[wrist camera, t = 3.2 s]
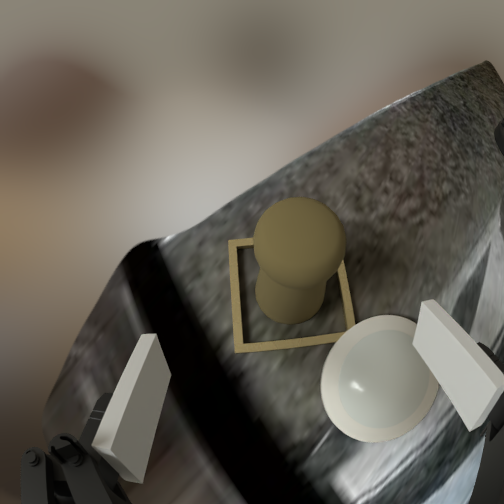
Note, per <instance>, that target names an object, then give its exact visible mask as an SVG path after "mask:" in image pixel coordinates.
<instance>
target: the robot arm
mask: <svg viewBox="0 0 504 504" xmlns="http://www.w3.org/2000/svg"><path fill="white" fill-rule="evenodd" d="M494 134H495V139H496V142H497V144H498V146H499V148H500V150H501V152H502V153H503V155H504V119H503V120H501V121H500V122H499V124H498V126H497V127H496V129H495V132H494ZM412 344H413V346H414V347H415V349H416V350H417V351H418V353H419V354H420V356H421V357H422V359H423V360H424V361H425V363H426V364H427V366H428V367H429V369H430V370H431V372H432V373H433V375H434V376H435V378H436V379H437V381H438V382H439V384H440V385H441V387H442V388H443V390H444V391H445V393H446V394H447V396H448V397H449V399H450V401H451V402H452V404H453V405H454V407H455V409H456V410H457V412H458V413H459V415H460V417H461V418H462V420H463V422H464V423H465V425H466V427H467V428H468V430H469V432H470V431H472V430H473V429H475V428H477V427H479V426H481V425H482V424H483V422H484V421H485V419H486V418H487V416H488V417H489V419H490V421H489V423H488V424H487V425H486V427H485V428H484V430H483V431H482V432H481V435H480V436H483V434H484V433H485V432H486V430H487V432H486V435H485V437H486V438H485V444H484V449H483V454H482V458H481V463H480V467H479V471H478V475H477V478H476V482H475V486H474V489H473V492H472V495H471V498H470V501H469V504H504V364H503V363H502V362H501V361H499V359H498V358H497V356H496V355H494V353H493V352H492V351H491V350H490V349H489V348H488V347H487V346H485V345H484V344H482V343H480V342H479V343H476V342H475V341H474V340H473V339H472V338H471V337H470V336H469V335H468V334H467V333H466V332H465V331H464V330H463V329H462V327H461V326H460V325H459V324H458V323H457V322H456V321H455V320H454V319H453V318H452V317H451V316H450V315H449V314H448V313H447V312H446V311H445V310H444V309H443V308H442V307H441V306H440V305H439V304H438V303H437V302H436V301H435V300H434V299H432V300H427V301H423V302H422V304H421V309H420V314H419V318H418V323H417V327H416V331H415V336H414V340H413V343H412ZM170 377H171V373H170V371H169V368H168V365H167V363H166V360H165V357H164V355H163V352H162V349H161V346H160V343H159V341H158V338H157V335H156V334H142V335H141V337H140V339H139V341H138V343H137V345H136V347H135V349H134V351H133V353H132V355H131V357H130V359H129V361H128V364H127V366H126V368H125V370H124V372H123V374H122V376H121V378H120V381H119V383H118V385H117V387H116V389H115V391H114V394H112V393H104V394H103V395H102V396H101V397H100V398H99V399H98V400H97V402H96V404H95V406H94V409H93V411H92V413H91V415H90V419H88V421H87V424H86V426H85V428H84V430H83V432H82V435H81V437H80V439H79V441H78V440H77V439H76V438H75V437H74V436H72V435H71V434H67V433H63V434H59V435H57V436H55V437H54V438H53V439H52V440H51V441H50V444H49V446H48V451H49V453H50V454H51V455H46V454H45V453H44V452H43V451H42V450H41V449H40V448H37V447H32V448H29V449H27V450H26V451H25V452H24V454H23V455H22V459H21V504H132V503H131V502H130V500H129V499H128V497H127V495H126V494H125V492H124V490H123V488H122V487H121V485H120V483H119V482H118V481H117V480H118V476H119V475H120V476H121V477H122V478H123V479H125V480H127V481H132V482H137V483H143V479H144V475H145V471H146V467H147V463H148V459H149V455H150V451H151V447H152V443H153V439H154V435H155V431H156V427H157V424H158V420H159V416H160V413H161V409H162V405H163V402H164V398H165V395H166V391H167V387H168V384H169V381H170Z"/></svg>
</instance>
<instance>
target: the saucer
mask: <svg viewBox="0 0 504 504" xmlns="http://www.w3.org/2000/svg"><path fill="white" fill-rule="evenodd" d="M416 327H417V324H416V323H414V322H413V321H411V320H409V319H406V318H403V317H400V316H394V315H381V316H375V317H371V318H368V319H366V320H363V321H361V322H360V323H358V324H356V325H354V326H353V327H352V328H350V329H349V330H348V331H347V332H345V333H344V334H343V335H342V336H341V337H340V339H339V340H338V341H337V342H335V343H334V345H333V346H332V348H331V349H330V351H329V353H328V355H327V357H326V359H325V362H324V365H323V368H322V372H321V379H320V394H321V400H322V403H323V406H324V409H325V411H326V413H327V415H328V417H329V418H330V420H331V421H332V422H333V424H334V425H335V426H336V427H337V428H339V429H340V430H341V431H342V432H344V433H345V434H346V435H348V436H350V437H352V438H354V439H357V440H359V441H364V442H373V443H377V442H385V441H389V440H393V439H395V438H398V437H400V436H402V435H404V434H406V433H407V432H409V431H410V430H411V429H413V428H414V427H415V426H416V425H417V424H418V423H419V422H420V421H421V420H422V419H423V418H424V417H425V415H426V414H427V413H428V411H429V410H430V408H431V406H432V404H433V402H434V400H435V397H436V395H437V391H438V388H439V382H438V381H437V379H436V378H435V376H434V375H433V373H432V372H431V370H430V369H429V367H428V366H427V364H426V363H425V361H424V360H423V359H422V357H421V356H420V354H419V353H418V351H417V350H416V349H415V347H414V346H413V344H412V343H413V340H414V336H415V331H416Z"/></svg>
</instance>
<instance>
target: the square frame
mask: <svg viewBox="0 0 504 504" xmlns="http://www.w3.org/2000/svg"><path fill="white" fill-rule="evenodd" d="M228 245H229V264H230V282H231V299H232V316H233V331H234V345H235V353H249V352H261V351H272V350H281V349H290V348H299V347H306V346H314V345H321V344H328V343H334V342H337V341H338V340H339V339H340V337H341V336H342V335H343V334H344V333H345V332H340V333H334V334H327V335H320V336H313V337H305V338H297V339H289V340H280V341H270V342H259V343H248V344H244V340H243V327H242V313H241V299H240V285H239V270H238V255H237V249H245V248H254V243H253V238H246V239H236V240H228ZM336 273H337V278H338V284H339V289H340V295H341V301H342V307H343V313H344V319H345V326H346V332H347V331H348V330H349V329H350V328H352V327H353V326H354V325H355V319H354V313H353V307H352V302H351V296H350V291H349V285H348V280H347V275H346V270H345V265H344V260H342V263H341V265H340V267H339V268H338V270H337V272H336Z"/></svg>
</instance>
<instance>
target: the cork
mask: <svg viewBox="0 0 504 504" xmlns="http://www.w3.org/2000/svg"><path fill="white" fill-rule="evenodd" d="M253 243H254V253H255V257H256V259H257V261H258V263H259V266H260V271H259V275H258V278H257V283H256V287H255V293H256V300H257V302H258V304H259V307H260V309H261V310H262V311H263V312H264V313H265V314H266V315H267V317H269V318H271V319H272V320H274V321H276V322H278V323H283V324H288V325H290V324H299V323H302V322H304V321H306V320H308V319H310V318H311V317H313V316H314V315H315V314H316V313H317V312H318V311H319V309H320V307H321V305H322V303H323V301H324V295H325V289H326V282H327V280H328V279H329V278H330V277H331V276H332V275H333V274H335V273H336V272H337V270H338V268H339V267H340V265H341V263H342V260H343V258H344V256H345V249H346V235H345V231H344V227H343V225H342V223H341V221H340V220H339V218H338V217H337V215H336V214H335V213H334V212H333V211H332V210H331V209H330V208H329V207H327V206H326V205H325V204H323V203H321V202H319V201H317V200H315V199H311V198H306V197H293V198H288V199H285V200H282V201H279V202H277V203H275V204H274V205H272V206H271V207H270V208H268V209H267V210H266V211H265V212H264V213H263V215H262V216H261V218H260V219H259V221H258V223H257V225H256V229H255V233H254V236H253Z"/></svg>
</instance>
